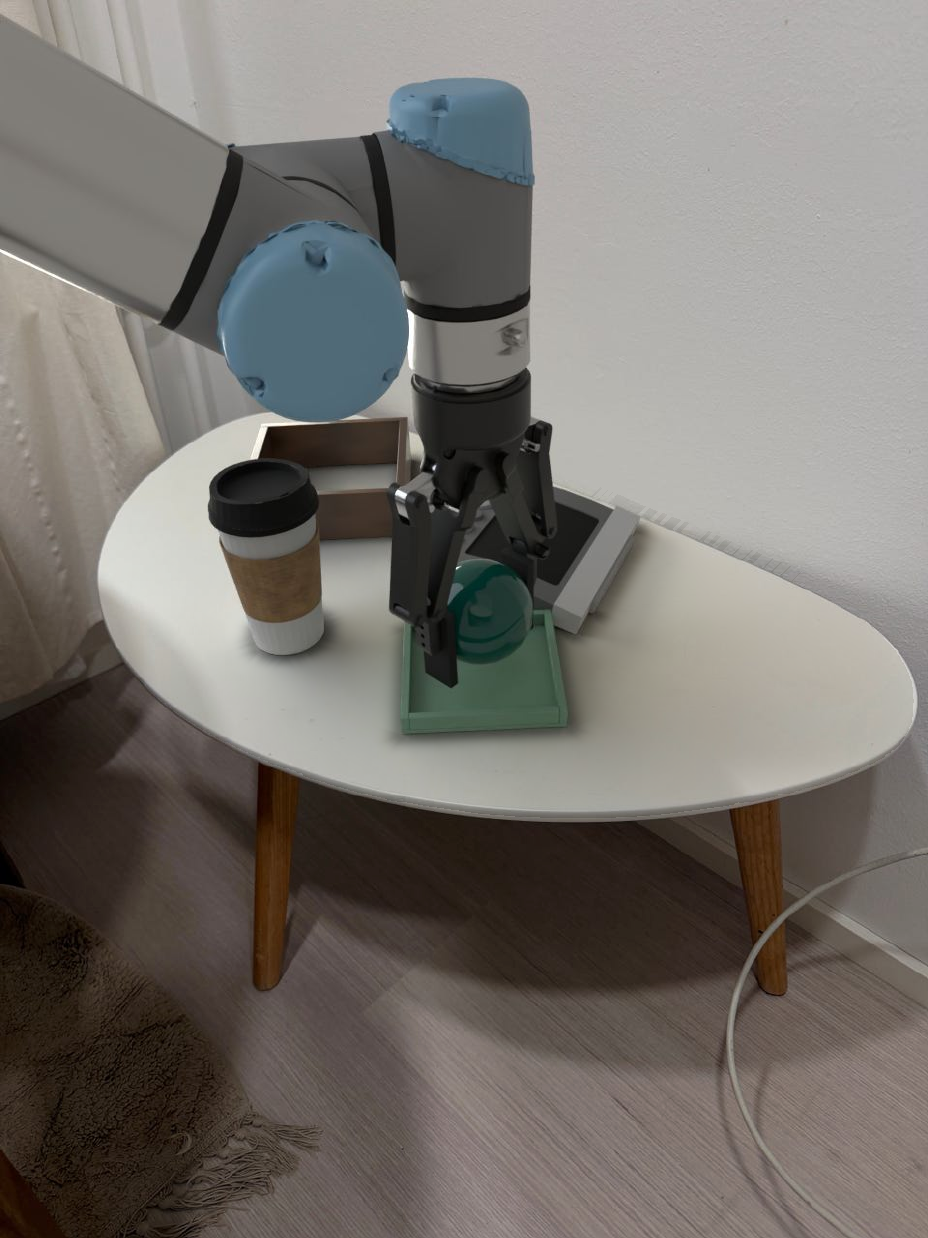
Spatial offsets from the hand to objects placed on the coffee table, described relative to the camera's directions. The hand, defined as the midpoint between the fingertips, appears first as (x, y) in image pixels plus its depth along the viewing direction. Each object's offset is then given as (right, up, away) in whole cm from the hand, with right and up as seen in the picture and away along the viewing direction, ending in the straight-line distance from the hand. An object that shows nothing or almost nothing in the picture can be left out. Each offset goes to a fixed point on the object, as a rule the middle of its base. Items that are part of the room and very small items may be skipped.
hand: (480, 649), depth 71 cm
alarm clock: (+5, +8, +14) cm, 17 cm away
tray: (0, -2, +2) cm, 3 cm away
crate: (-15, +15, +24) cm, 32 cm away
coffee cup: (-16, +1, +7) cm, 18 cm away
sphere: (0, 0, 0) cm, 0 cm away
